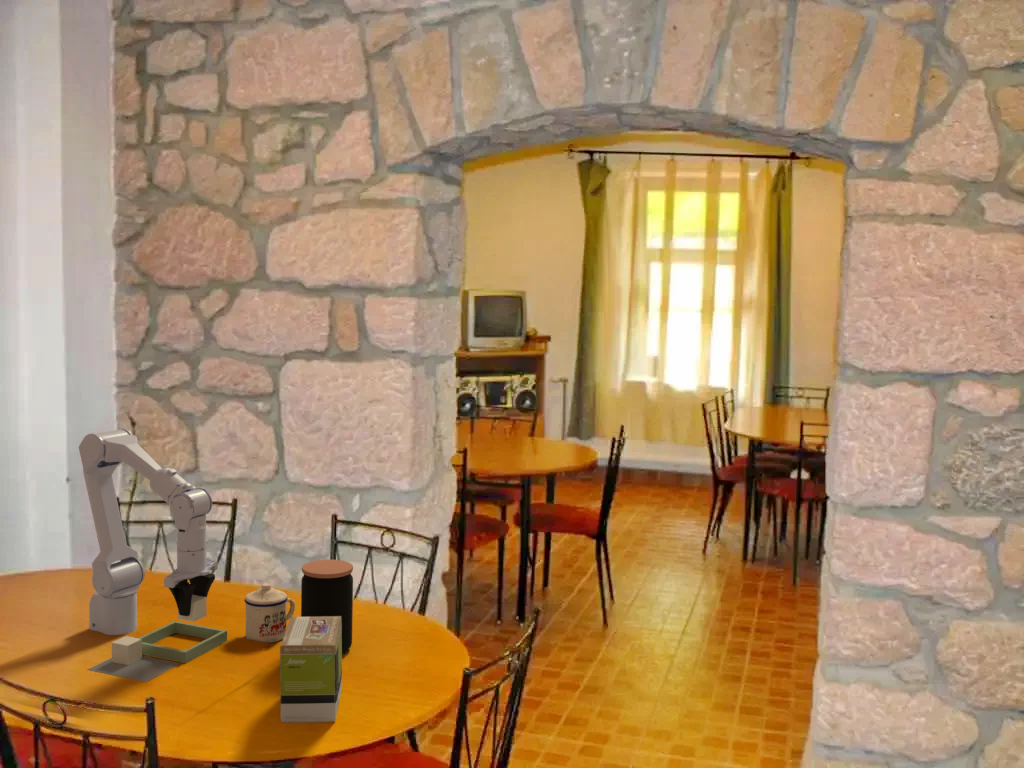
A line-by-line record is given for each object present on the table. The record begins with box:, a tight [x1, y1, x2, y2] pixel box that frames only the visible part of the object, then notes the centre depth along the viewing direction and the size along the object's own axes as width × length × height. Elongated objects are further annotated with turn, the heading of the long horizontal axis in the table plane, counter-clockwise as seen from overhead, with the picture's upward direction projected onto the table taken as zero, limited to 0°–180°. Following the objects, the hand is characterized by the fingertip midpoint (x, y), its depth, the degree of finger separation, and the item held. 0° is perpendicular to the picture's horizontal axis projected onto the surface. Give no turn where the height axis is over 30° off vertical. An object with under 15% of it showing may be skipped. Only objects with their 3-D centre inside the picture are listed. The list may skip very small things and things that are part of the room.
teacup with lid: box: [244, 583, 296, 644], centre depth 223 cm, size 12×9×12 cm
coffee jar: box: [300, 559, 354, 655], centre depth 216 cm, size 11×11×18 cm
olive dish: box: [138, 620, 228, 664], centre depth 214 cm, size 14×14×3 cm
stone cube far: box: [177, 595, 207, 623], centre depth 212 cm, size 4×4×4 cm
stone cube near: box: [111, 635, 143, 665], centre depth 205 cm, size 4×4×4 cm
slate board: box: [87, 655, 181, 683], centre depth 203 cm, size 14×10×1 cm
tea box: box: [279, 615, 343, 723], centre depth 189 cm, size 15×10×15 cm
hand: (191, 611), depth 213 cm, fingers closed on stone cube far, 4 cm apart
